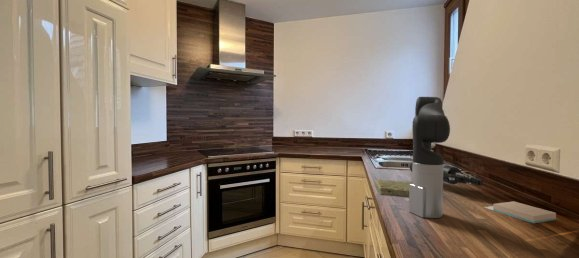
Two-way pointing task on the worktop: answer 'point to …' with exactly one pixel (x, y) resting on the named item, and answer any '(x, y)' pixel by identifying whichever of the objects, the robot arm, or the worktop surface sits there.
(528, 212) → the tile
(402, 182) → the decorative tile
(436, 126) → the robot arm
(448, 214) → the worktop surface
